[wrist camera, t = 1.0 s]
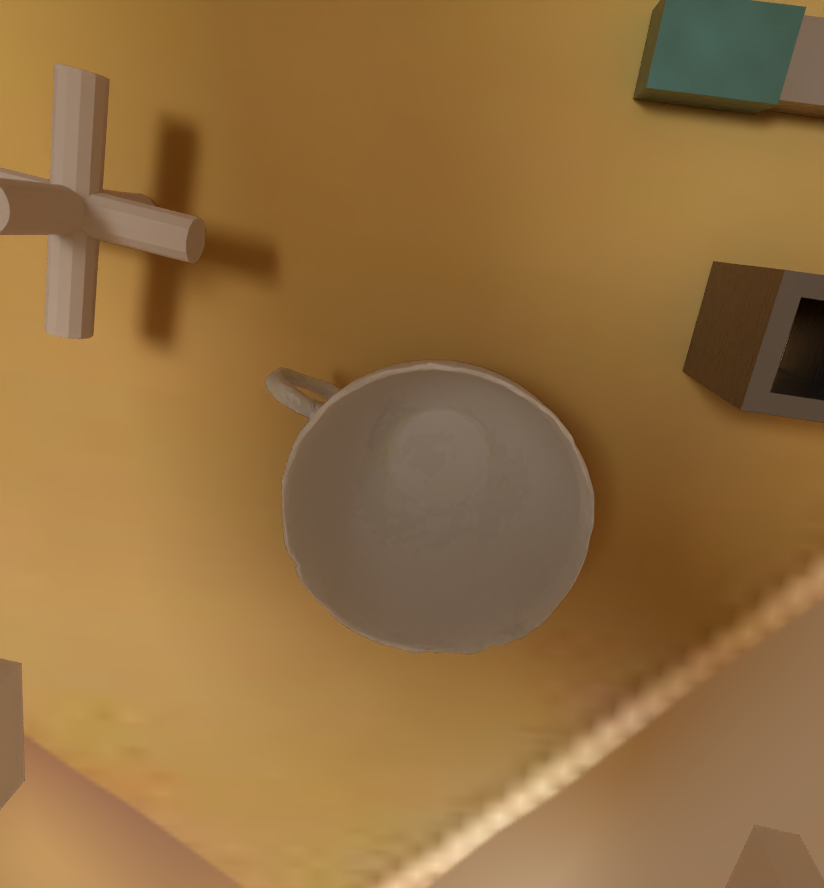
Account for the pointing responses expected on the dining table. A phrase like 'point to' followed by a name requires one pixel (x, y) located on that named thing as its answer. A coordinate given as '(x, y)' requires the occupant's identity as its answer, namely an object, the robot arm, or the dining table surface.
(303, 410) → the teacup
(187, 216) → the pipe connector
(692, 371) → the square hollow tube
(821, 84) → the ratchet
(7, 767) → the robot arm
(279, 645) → the dining table surface
